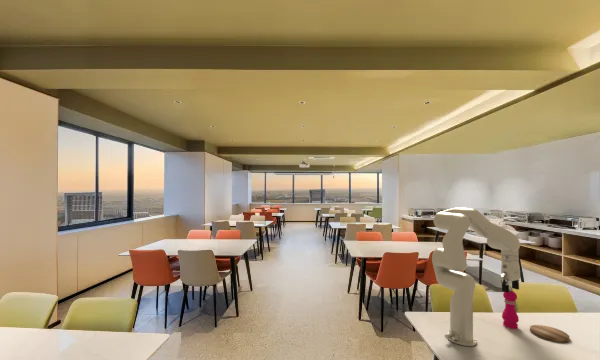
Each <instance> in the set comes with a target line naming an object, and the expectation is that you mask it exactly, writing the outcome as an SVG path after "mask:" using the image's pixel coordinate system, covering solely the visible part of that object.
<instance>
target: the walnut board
mask: <svg viewBox="0 0 600 360" xmlns="http://www.w3.org/2000/svg"><path fill="white" fill-rule="evenodd" d="M529 332H530V333H531V334H533V336H535V337H538V338H539V339H543V340H546V341H549V342H553V343H554V342H555V343H559V344H560V343H563V344H564V343H569V342H570V335H569V334H568V333H566V332H564V331H563V330H560V329H558V328H555V327H552V326H548V325H543V324H534V325H533V324H532V325H529Z"/></svg>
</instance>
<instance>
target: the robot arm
mask: <svg viewBox="0 0 600 360" xmlns="http://www.w3.org/2000/svg"><path fill="white" fill-rule="evenodd" d="M432 221H433V224H434V227H436V228H437V229H440V230H445V231H447V232H446V233H445V235H444V236H443V238H442V241H441V242H442V247H437V248H435V250H434V251H433V252H432V256H431V261H432V267H433V271H434V274H435V279H436V281H437V283H438V285H440V286H442V287H443V288H446V289H449V290H452V291H454V292H453V294H452V296H451V297H450V300H449V310H450V311H449V316H450V317H449V321H450V323H449V325H450V326H449V331H448V332H446V334H445V335H444V338H445V339H447V340H449V341H450V342H451V343H454V344H456V345H459V346H464V347H474V346H476V345H477V344H478V340H477V338H476V337H475V336H474V294H475V290H476V280H475V278H474V277H473V276H472V275H470V274H469V273H466V272H464V271H465V270H466V269H467V265H468V263H467V258H466V257H467V256H466V253H465V248H464V243H463V242H464V241H463V240H464V237H465V235H466V233H467V232H468V230H469V228H470V229H471V230H473V231H474V232H475V234H477V236H480V237H482V238H485V239H486V243H487V246H488V247H490V248H492V249H495V250H500V257H501V270H500V273H501V274H500V277H499V278H500V279H499V280H500V284H501V292H503V293H504V292H507V293H509V288H510V284H509V283H510V282H511V289H512V290H513V289H514V290H520V279H521V268H520V267H521V266H520V262H519V261H520V259H519V256H520V255H519V249H520V247H521V242H520V240H519V237H518V235H516V234H514V233H513V232H512V231H510V230H508V229H506V228H503V227H501V226H500V225H498V224H496V223H494V222H491V221H490V220H489V219H487V217H486V216H484V215H483V214H482V213H481V212H480V211H479V210H478V209H475V208H471V207H460V206H459V207H453V208H449V209H446V210H441V211H439V212H436V214H435V215H434V217H433V220H432Z"/></svg>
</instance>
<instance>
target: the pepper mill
mask: <svg viewBox="0 0 600 360" xmlns="http://www.w3.org/2000/svg"><path fill="white" fill-rule="evenodd" d="M502 296H503V298H504V301H503V302H504V304H505V306H504V310H503V312H502V314H501V318H502V320H503V321H502V325H503V326H504V327H506V328H508V329H512V330H515V329H518V327H519V325H518V323H519V321H520V320H519V315H518V313H517V311H516V304H517V301H516V300H517V299H518V296H517V293H516V292H515V291H514V290H513V288H512V287H509V293H507V292H503V293H502Z"/></svg>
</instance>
